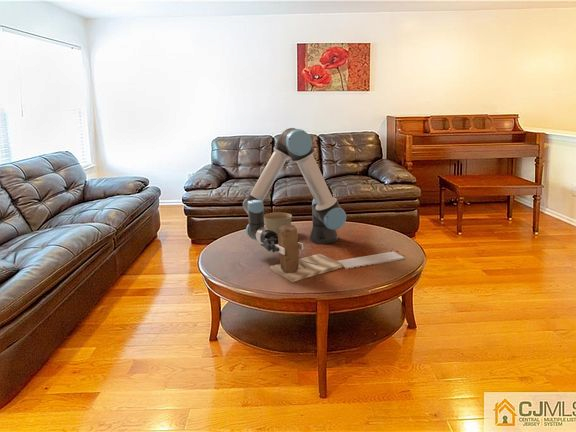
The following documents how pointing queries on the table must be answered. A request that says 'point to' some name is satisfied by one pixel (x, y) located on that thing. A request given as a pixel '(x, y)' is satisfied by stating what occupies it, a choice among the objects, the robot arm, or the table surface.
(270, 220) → the planter bowl
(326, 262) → the board
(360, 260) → the baseboard
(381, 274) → the table surface
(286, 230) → the block
